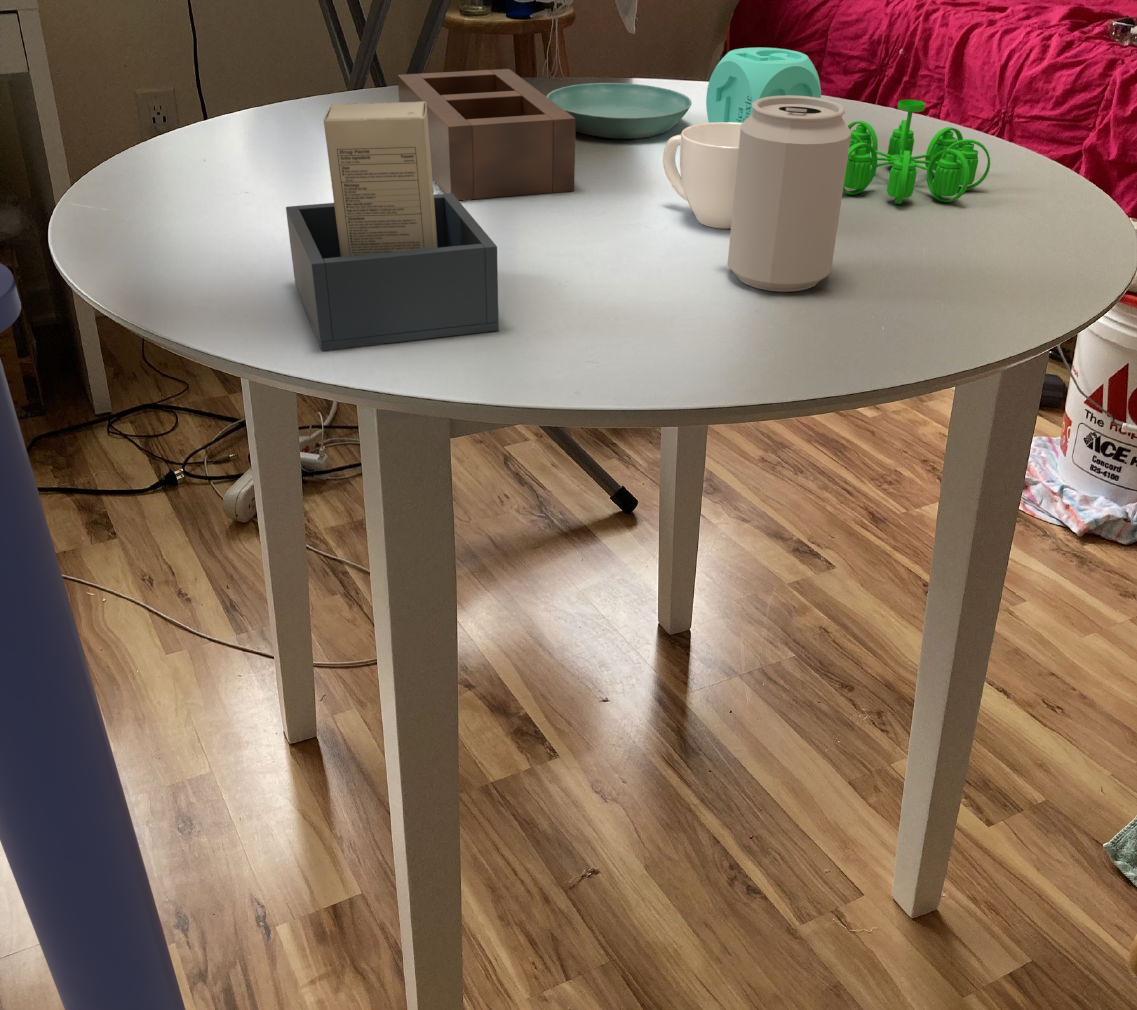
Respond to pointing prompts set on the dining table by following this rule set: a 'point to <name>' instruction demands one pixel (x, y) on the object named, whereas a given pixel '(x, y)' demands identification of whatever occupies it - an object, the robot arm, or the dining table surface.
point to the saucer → (621, 109)
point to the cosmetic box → (381, 177)
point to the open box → (394, 281)
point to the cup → (706, 170)
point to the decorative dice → (757, 81)
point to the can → (788, 192)
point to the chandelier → (941, 157)
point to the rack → (493, 134)
